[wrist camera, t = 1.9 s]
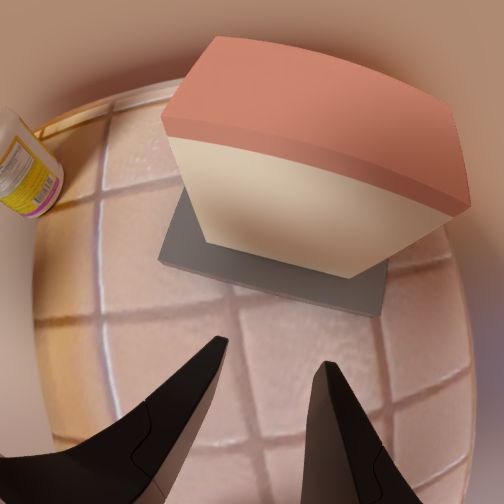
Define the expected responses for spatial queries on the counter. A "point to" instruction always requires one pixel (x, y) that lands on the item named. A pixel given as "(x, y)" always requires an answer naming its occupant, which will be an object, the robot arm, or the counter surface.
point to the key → (312, 156)
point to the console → (268, 269)
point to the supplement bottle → (26, 168)
